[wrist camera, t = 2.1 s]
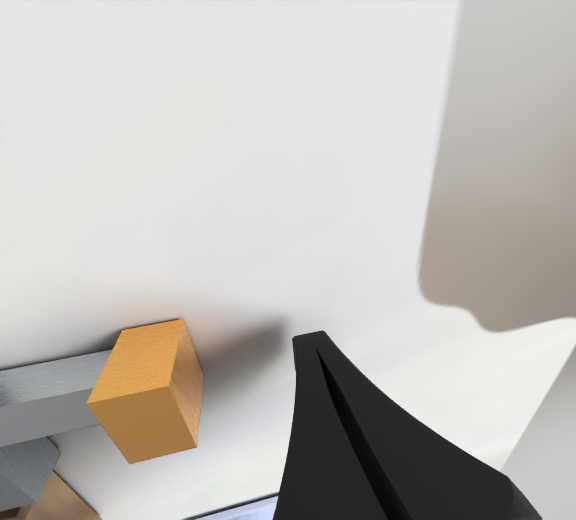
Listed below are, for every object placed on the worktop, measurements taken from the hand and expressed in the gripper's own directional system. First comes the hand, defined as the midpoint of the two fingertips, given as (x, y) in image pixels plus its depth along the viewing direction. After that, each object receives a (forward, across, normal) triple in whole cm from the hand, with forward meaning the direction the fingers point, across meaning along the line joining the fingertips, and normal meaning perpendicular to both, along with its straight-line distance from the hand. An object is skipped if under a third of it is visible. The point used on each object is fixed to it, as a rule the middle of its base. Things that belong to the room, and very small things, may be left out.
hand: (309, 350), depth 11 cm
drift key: (+1, +9, 0) cm, 9 cm away
